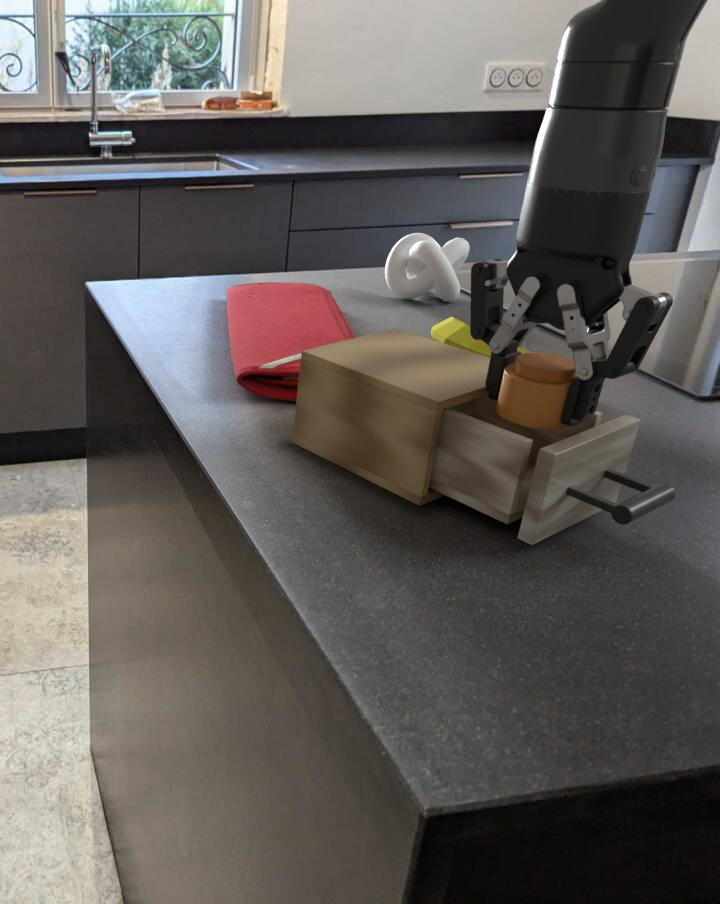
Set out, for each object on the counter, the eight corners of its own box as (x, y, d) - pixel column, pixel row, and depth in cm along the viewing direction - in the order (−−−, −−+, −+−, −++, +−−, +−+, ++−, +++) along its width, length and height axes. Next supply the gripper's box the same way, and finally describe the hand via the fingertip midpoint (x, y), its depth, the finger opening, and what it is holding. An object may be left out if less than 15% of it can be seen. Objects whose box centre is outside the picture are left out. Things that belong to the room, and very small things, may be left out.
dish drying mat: (331, 302, 122) (334, 277, 120) (384, 408, 85) (389, 374, 84) (224, 299, 123) (226, 275, 122) (231, 402, 87) (233, 368, 85)
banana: (546, 357, 87) (607, 352, 96) (409, 310, 99) (474, 309, 108) (530, 398, 89) (591, 389, 98) (397, 347, 101) (463, 343, 110)
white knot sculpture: (419, 283, 133) (428, 226, 129) (485, 299, 124) (497, 239, 120) (372, 293, 127) (380, 234, 124) (438, 310, 118) (449, 248, 115)
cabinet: (512, 468, 73) (535, 371, 69) (419, 506, 66) (438, 401, 63) (382, 414, 84) (395, 328, 80) (291, 442, 77) (301, 350, 74)
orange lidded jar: (522, 397, 67) (533, 345, 65) (587, 419, 62) (602, 364, 61) (481, 411, 64) (492, 357, 62) (546, 435, 60) (560, 378, 58)
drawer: (679, 529, 62) (709, 441, 58) (595, 576, 56) (624, 481, 53) (468, 443, 75) (483, 368, 72) (384, 474, 70) (397, 394, 66)
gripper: (732, 187, 52) (657, 431, 59) (524, 165, 63) (482, 374, 70) (673, 197, 48) (600, 456, 56) (462, 172, 59) (424, 391, 67)
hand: (534, 409), depth 63 cm, fingers closed on orange lidded jar, 5 cm apart
